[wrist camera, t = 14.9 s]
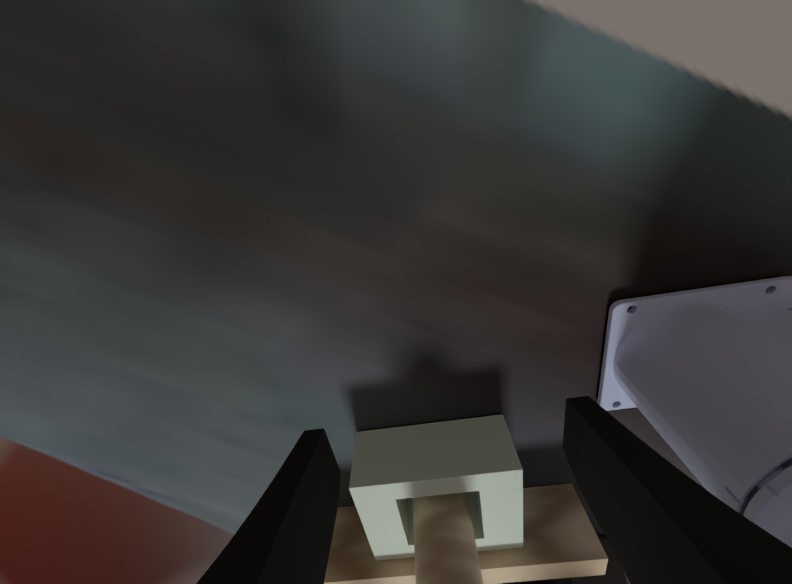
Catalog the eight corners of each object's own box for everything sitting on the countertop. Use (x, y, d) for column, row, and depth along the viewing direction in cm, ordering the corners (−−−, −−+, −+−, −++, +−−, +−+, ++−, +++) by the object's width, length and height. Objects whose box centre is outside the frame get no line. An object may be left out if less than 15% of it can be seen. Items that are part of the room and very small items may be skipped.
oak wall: (571, 483, 26) (608, 558, 21) (570, 499, 27) (605, 574, 22) (318, 509, 27) (303, 584, 23) (325, 523, 28) (312, 598, 24)
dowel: (459, 448, 23) (486, 593, 16) (463, 481, 25) (490, 626, 18) (407, 454, 24) (412, 599, 16) (415, 486, 25) (422, 631, 18)
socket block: (502, 414, 22) (522, 469, 19) (505, 488, 26) (523, 547, 22) (356, 431, 23) (348, 488, 20) (378, 502, 27) (375, 560, 23)
